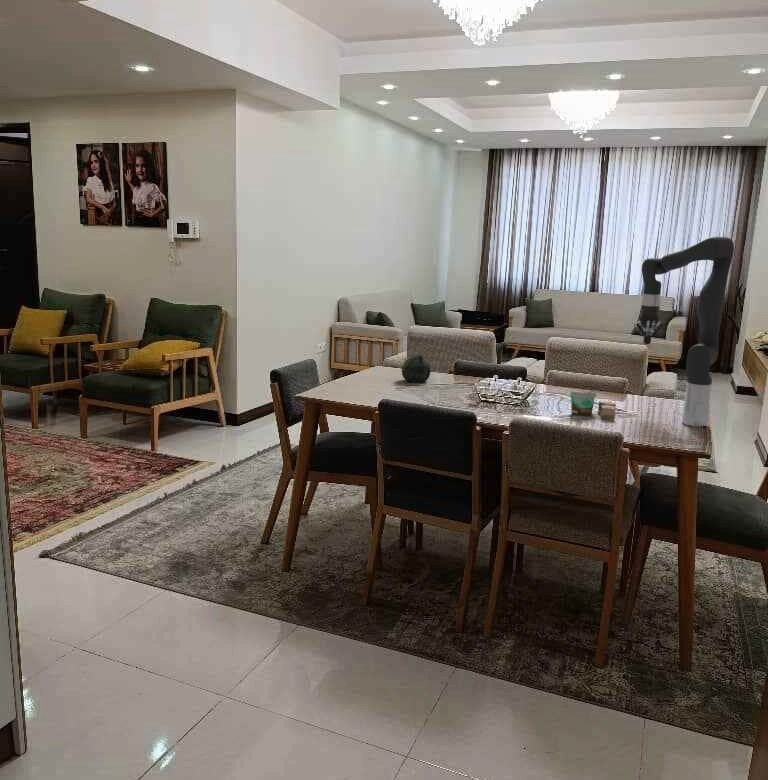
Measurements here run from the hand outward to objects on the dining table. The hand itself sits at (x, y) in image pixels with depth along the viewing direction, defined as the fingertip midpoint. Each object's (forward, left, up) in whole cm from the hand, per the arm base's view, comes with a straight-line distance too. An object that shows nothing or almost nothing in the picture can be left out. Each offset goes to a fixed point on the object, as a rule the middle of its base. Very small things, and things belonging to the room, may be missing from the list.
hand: (646, 344), depth 311 cm
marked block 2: (-18, +23, -29) cm, 41 cm away
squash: (+61, +93, -29) cm, 115 cm away
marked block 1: (-10, +20, -29) cm, 37 cm away
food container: (-11, +30, -29) cm, 43 cm away
